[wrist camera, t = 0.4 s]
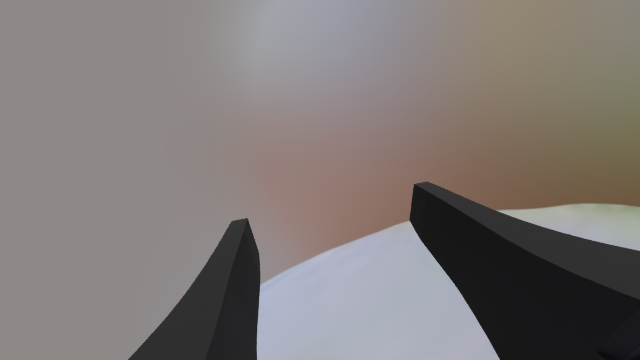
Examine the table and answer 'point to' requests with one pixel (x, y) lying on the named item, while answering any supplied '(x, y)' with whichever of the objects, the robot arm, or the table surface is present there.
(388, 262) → the table surface
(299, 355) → the table surface
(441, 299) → the table surface
